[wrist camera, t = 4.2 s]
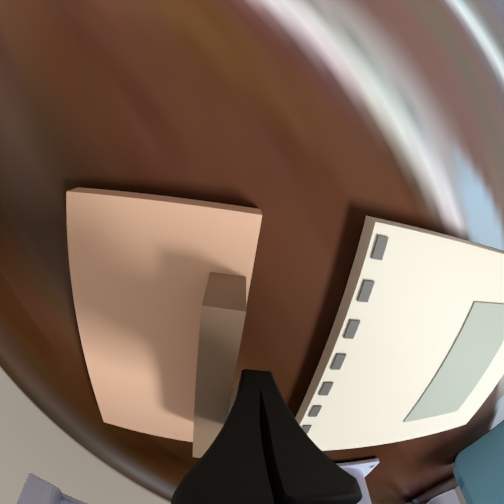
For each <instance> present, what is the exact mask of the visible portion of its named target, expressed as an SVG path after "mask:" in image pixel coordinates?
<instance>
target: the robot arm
mask: <svg viewBox="0 0 504 504" xmlns="http://www.w3.org/2000/svg"><path fill="white" fill-rule="evenodd" d="M378 463H379V459H378V458H375V459H369V460H362V461H355V462H346V463H337V464H336V463H334V462H333V461H332V460H331V459H330V458H329V457H328V456H327V455H326V454H324V453H323V452H322V451H321V450H320V449H319V448H318V447H317V446H316V445H315V443H314V442H313V441H312V440H311V439H310V438H309V437H308V435H307V434H306V433H305V432H304V430H303V429H302V428H301V426H300V425H299V423H298V422H297V421H296V419H295V418H294V416H293V414H292V413H291V411H290V410H289V408H288V406H287V404H286V402H285V401H284V399H283V397H282V395H281V393H280V391H279V389H278V387H277V385H276V382H275V380H274V378H273V375H272V373H271V372H269V371H258V370H248V369H244V370H242V373H241V378H240V382H239V387H238V392H237V397H236V400H235V403H234V405H233V407H232V409H231V412H230V414H229V416H228V418H227V420H226V422H225V424H224V425H223V427H222V429H221V430H220V432H219V434H218V435H217V437H216V438H215V440H214V441H213V443H212V444H211V446H210V447H209V448H208V450H207V451H206V452H205V453H204V455H203V456H202V457H201V458H200V460H199V461H198V462H197V463H196V464H195V465H194V466H193V468H192V469H191V470H190V471H189V472H188V473H187V474H186V475H185V476H184V478H183V480H182V481H181V483H180V484H179V486H178V487H177V489H176V491H175V492H174V494H173V497H172V501H171V504H372V503H371V500H370V496H369V492H368V489H367V485H366V482H365V478H364V477H365V476H366V475H367V474H368V473H369V472H370V471H371V470H372V469H373V468H374V467H375V466H376V465H377V464H378ZM17 504H87V503H85V502H82V501H79V500H77V499H74V498H72V497H70V496H68V495H65V494H63V493H61V491H60V490H59V489H58V488H57V487H56V486H54V485H52V484H50V483H49V482H46V481H44V480H43V479H41V478H39V477H37V476H35V475H33V474H29V475H28V477H27V479H26V482H25V484H24V487H23V489H22V491H21V494H20V497H19V499H18V502H17ZM427 504H460V502H459V500H458V497H457V495H456V493H455V491H454V490H450V491H448V492H446V493H443V494H441V495H439V496H437V497H435V498H433V499H432V500H430V501H429V502H428V503H427Z"/></svg>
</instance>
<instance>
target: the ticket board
mask: <svg viewBox="0 0 504 504" xmlns="http://www.w3.org/2000/svg"><path fill="white" fill-rule="evenodd" d="M503 374H504V251H502V250H498V249H495V248H492V247H488V246H485V245H482V244H478V243H475V242H471V241H468V240H464V239H460V238H457V237H453V236H449V235H446V234H442V233H438V232H434V231H430V230H426V229H422V228H418V227H414V226H410V225H406V224H401V223H397V222H393V221H388V220H384V219H379V218H375V217H370V216H366V218H365V222H364V226H363V230H362V234H361V237H360V241H359V245H358V248H357V252H356V255H355V259H354V262H353V265H352V269H351V272H350V275H349V279H348V282H347V285H346V288H345V291H344V294H343V297H342V300H341V303H340V306H339V309H338V312H337V315H336V318H335V321H334V324H333V327H332V329H331V332H330V335H329V338H328V340H327V343H326V346H325V348H324V351H323V353H322V356H321V359H320V361H319V364H318V366H317V369H316V371H315V374H314V376H313V378H312V381H311V383H310V386H309V388H308V390H307V393H306V395H305V397H304V400H303V402H302V404H301V406H300V409H299V411H298V413H297V415H296V417H295V419H296V421H297V422H298V423H299V425H300V426H301V428H302V429H303V430H304V432H305V433H306V434H307V435H308V437H309V438H310V439H311V440H312V441H313V442H314V443H315V445H316V446H317V447H318V448H319V449H320V450H321V451H325V450H339V449H350V448H359V447H367V446H374V445H381V444H387V443H393V442H398V441H403V440H408V439H413V438H418V437H422V436H426V435H430V434H434V433H438V432H442V431H445V430H449V429H452V428H456V427H459V426H462V425H465V424H467V422H468V421H469V420H470V419H471V418H472V416H473V415H474V414H475V413H476V411H477V410H478V409H479V408H480V406H481V405H482V404H483V402H484V401H485V400H486V399H487V397H488V396H489V394H490V393H491V392H492V390H493V389H494V387H495V386H496V385H497V383H498V382H499V380H500V379H501V377H502V376H503Z"/></svg>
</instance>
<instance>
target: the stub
mask: <svg viewBox="0 0 504 504" xmlns="http://www.w3.org/2000/svg"><path fill="white" fill-rule="evenodd" d="M66 215H67V240H68V254H69V266H70V275H71V284H72V292H73V299H74V305H75V311H76V317H77V323H78V328H79V333H80V338H81V343H82V347H83V352H84V356H85V360H86V364H87V368H88V372H89V376H90V379H91V383H92V386H93V390H94V393H95V397H96V400H97V403H98V406H99V409H100V412H101V415H102V418H103V421H104V422H105V423H109V424H112V425H116V426H119V427H123V428H126V429H130V430H134V431H138V432H142V433H147V434H151V435H156V436H161V437H165V438H171V439H176V440H182V441H188V442H193V457H197V458H201V457H202V456H203V455H204V453H205V452H206V451H207V450H208V448H209V447H210V446H211V444H212V443H213V441H214V440H215V438H216V437H217V435H218V434H219V432H220V430H221V429H222V427H223V425H224V424H225V422H226V419H227V413H228V408H229V403H230V397H231V392H232V386H233V381H234V376H235V370H236V365H237V359H238V354H239V348H240V343H241V338H242V332H243V327H244V321H245V316H246V304H247V298H248V293H249V287H250V282H251V276H252V270H253V265H254V259H255V253H256V248H257V242H258V237H259V231H260V225H261V220H262V212H261V209H257V208H250V207H244V206H237V205H230V204H223V203H216V202H209V201H201V200H194V199H186V198H178V197H170V196H161V195H153V194H144V193H134V192H125V191H115V190H104V189H93V188H81V187H78V188H75V189H72V190H69V191H66Z"/></svg>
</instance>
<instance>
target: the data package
mask: <svg viewBox="0 0 504 504" xmlns="http://www.w3.org/2000/svg"><path fill="white" fill-rule="evenodd" d="M453 473H454V475H455V477H456V479H457V482H458V484H459V486H460V488H461V491H462V493H463V495H464V498H465V500H466V502H467V504H504V420H503V421H502V422H501V423H500V424H498V425H497V426H496V427H494V428H493V429H492V430H490V431H489V432H488V433H486V434H485V435H484V436H482V437H481V438H479V439H478V440H477V441H475V442H474V443H472V444H471V445H469V446H468V447H466V448H465V449H463V450H462V451H460V452H459V453H458V455H457V457H456V459H455V463H454V467H453Z"/></svg>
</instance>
